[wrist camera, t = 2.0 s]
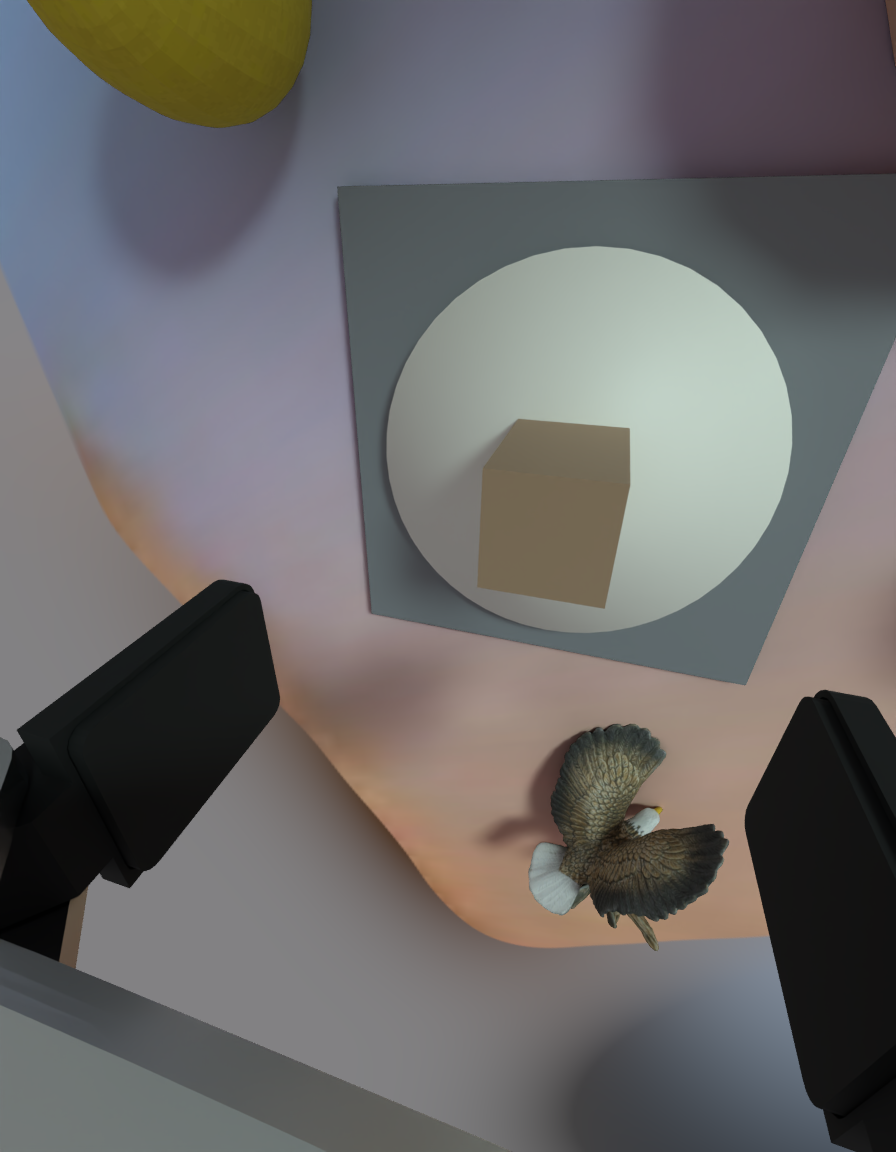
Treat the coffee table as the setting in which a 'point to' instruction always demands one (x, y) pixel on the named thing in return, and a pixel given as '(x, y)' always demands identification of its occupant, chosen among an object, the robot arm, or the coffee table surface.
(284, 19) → the lemon
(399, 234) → the mat
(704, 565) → the lid
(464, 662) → the coffee table surface
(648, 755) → the eagle figurine
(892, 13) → the bowl
